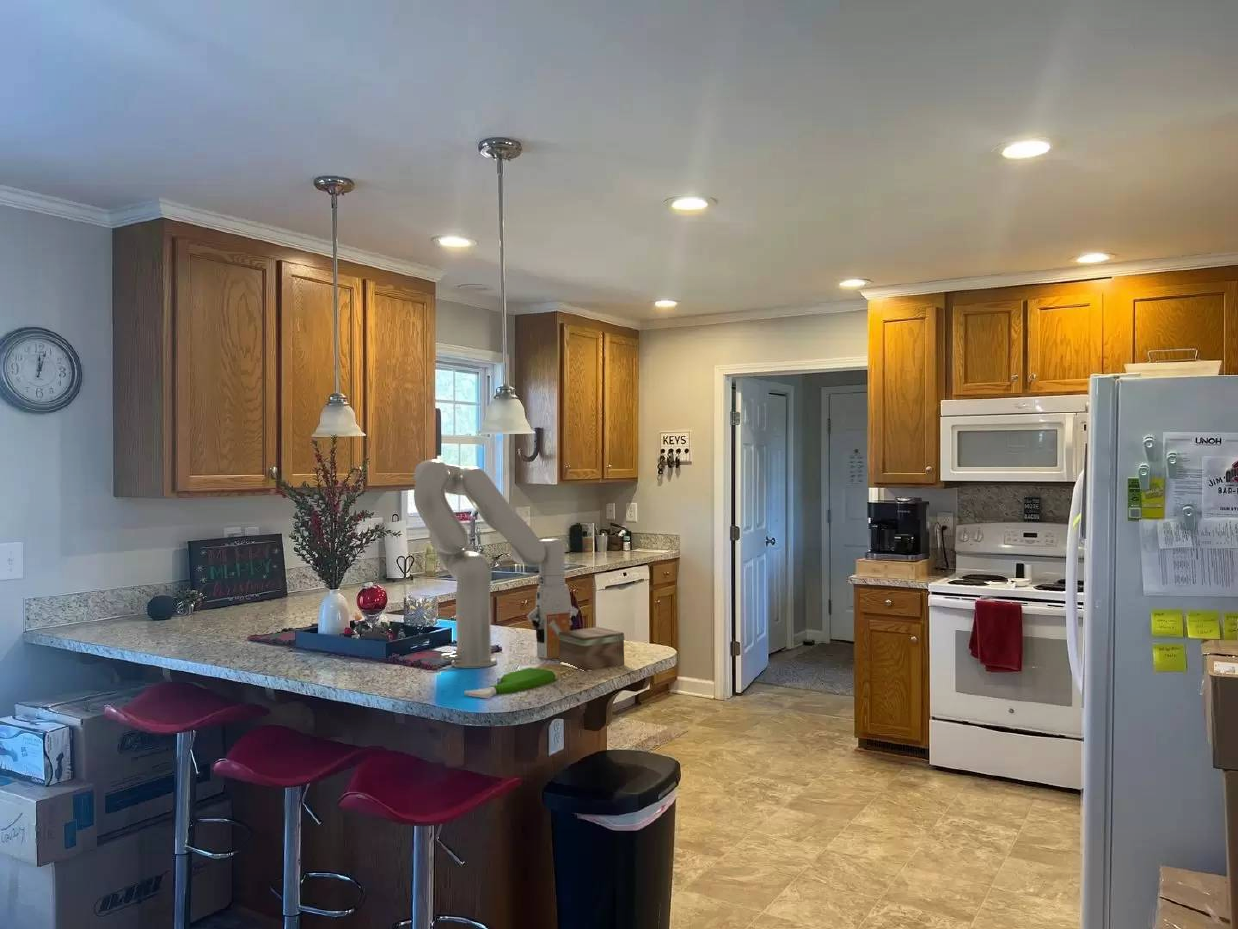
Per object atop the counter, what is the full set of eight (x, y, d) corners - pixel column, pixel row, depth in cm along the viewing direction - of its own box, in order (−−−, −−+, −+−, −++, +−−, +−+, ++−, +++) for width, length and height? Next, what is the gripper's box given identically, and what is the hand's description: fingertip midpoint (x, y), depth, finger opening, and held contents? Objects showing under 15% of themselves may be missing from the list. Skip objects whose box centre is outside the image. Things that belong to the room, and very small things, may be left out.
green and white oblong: (559, 682, 232) (493, 704, 212) (527, 677, 238) (459, 698, 218) (558, 671, 232) (492, 692, 212) (526, 666, 238) (459, 686, 218)
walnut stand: (584, 672, 242) (584, 638, 242) (558, 664, 253) (558, 632, 253) (625, 665, 250) (624, 632, 250) (598, 658, 261) (597, 626, 261)
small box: (547, 659, 260) (546, 614, 260) (536, 656, 265) (535, 612, 266) (571, 656, 265) (570, 611, 265) (560, 653, 270) (559, 609, 270)
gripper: (532, 584, 257) (534, 646, 257) (584, 579, 267) (585, 638, 267) (519, 582, 263) (521, 642, 263) (570, 577, 273) (572, 635, 273)
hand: (553, 640), depth 265 cm, fingers closed on small box, 8 cm apart
